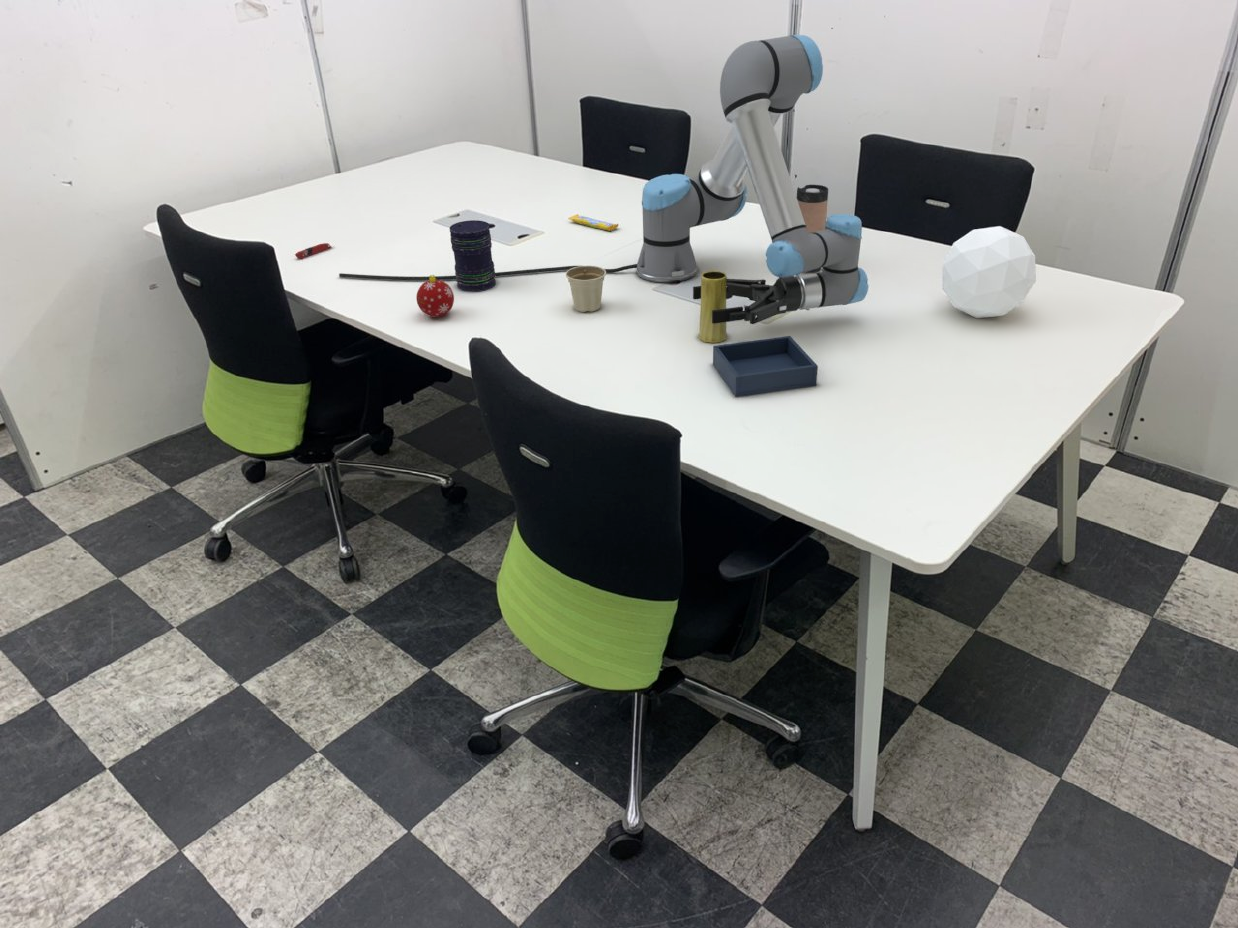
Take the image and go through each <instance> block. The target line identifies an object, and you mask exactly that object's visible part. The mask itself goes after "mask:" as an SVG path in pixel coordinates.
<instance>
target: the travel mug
mask: <svg viewBox="0 0 1238 928" xmlns="http://www.w3.org/2000/svg"><path fill="white" fill-rule="evenodd" d="M796 197H797V201H798V204H799V207H800V210H801V213H802V216H803V219H804V222H805V225H806V228H807V230H808V233H813V232H817V231H821V230H824V229H825V224H826V220H827V213H828V202H829V199H828V198H829V188H828V187H827V186H826V185H821V184H806V185H804V186H803V187H797V189H796ZM821 270H822V268H818V269H814V270H811V271H807V272H804V273H803V274H809V273H818V272H820V271H821Z"/></svg>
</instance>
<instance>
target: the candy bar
mask: <svg viewBox="0 0 1238 928" xmlns="http://www.w3.org/2000/svg"><path fill="white" fill-rule="evenodd" d="M568 220H569V221H571V222H574V223H577V224H581V225H583V226H586V227H590V228H595V229H599V230H603V231H607V232H612V231H614V230H616V229H617V228H618V227H619V225H620V224H619V223H612V222H608V221H603V220H600V219H595V218H592V217H589V216H584V215H579V214H574V215H571V216H570V217H568Z"/></svg>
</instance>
